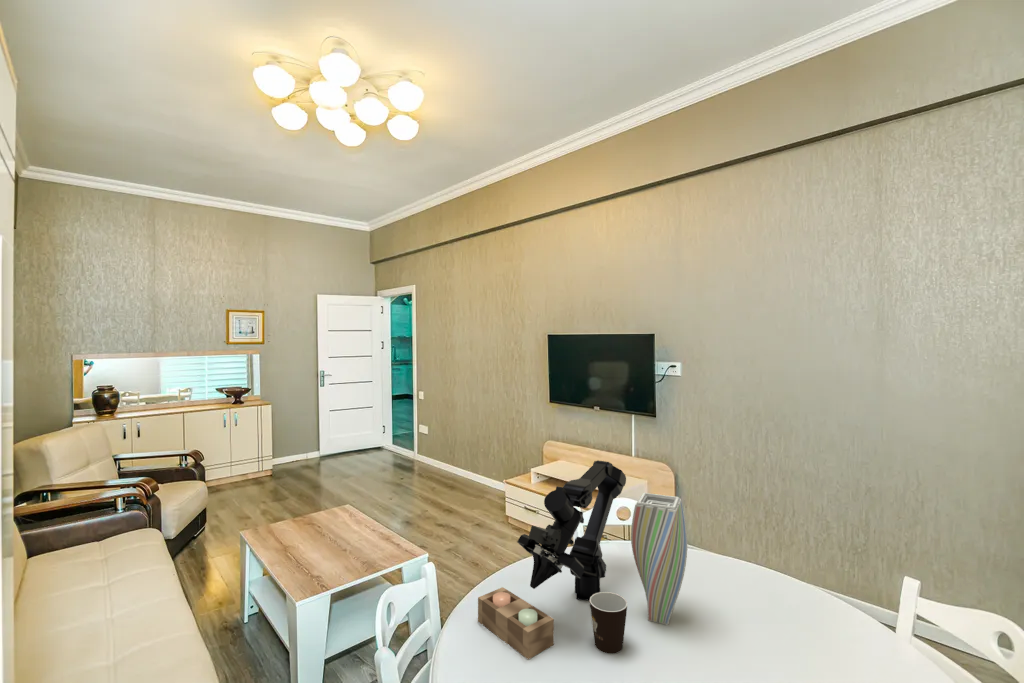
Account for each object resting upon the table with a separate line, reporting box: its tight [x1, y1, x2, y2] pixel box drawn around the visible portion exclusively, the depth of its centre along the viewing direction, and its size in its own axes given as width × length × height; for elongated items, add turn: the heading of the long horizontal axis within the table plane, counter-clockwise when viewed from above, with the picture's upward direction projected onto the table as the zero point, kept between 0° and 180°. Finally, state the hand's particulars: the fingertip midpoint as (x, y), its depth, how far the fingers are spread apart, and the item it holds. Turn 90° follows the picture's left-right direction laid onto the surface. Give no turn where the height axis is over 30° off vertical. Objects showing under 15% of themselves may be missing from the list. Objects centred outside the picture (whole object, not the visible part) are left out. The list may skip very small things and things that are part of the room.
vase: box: [630, 492, 688, 626], centre depth 120 cm, size 14×14×30 cm
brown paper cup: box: [589, 591, 628, 655], centre depth 111 cm, size 12×9×10 cm
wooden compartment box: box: [477, 586, 555, 660], centre depth 114 cm, size 8×19×6 cm, turn 40°
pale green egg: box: [519, 609, 537, 626], centre depth 110 cm, size 4×4×5 cm
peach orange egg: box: [493, 592, 510, 608], centre depth 118 cm, size 4×4×5 cm
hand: (531, 587), depth 113 cm, fingers closed
